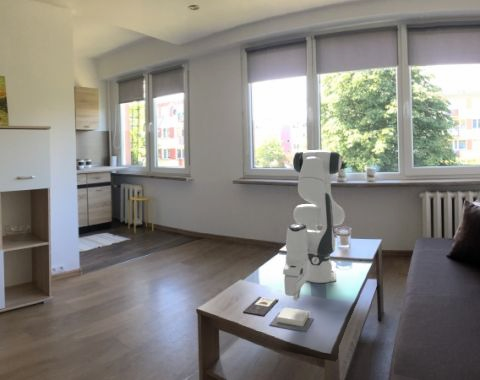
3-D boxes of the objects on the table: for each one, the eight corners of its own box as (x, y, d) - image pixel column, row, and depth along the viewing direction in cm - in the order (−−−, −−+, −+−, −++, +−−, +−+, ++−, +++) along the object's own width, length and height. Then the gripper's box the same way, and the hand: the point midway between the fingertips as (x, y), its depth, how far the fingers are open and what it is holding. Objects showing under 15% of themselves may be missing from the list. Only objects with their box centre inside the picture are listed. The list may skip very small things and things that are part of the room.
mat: (279, 313, 155) (279, 312, 155) (313, 319, 149) (313, 318, 149) (269, 325, 144) (269, 324, 144) (306, 332, 138) (306, 331, 138)
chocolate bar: (243, 311, 155) (259, 296, 172) (243, 313, 156) (259, 298, 172) (263, 315, 152) (278, 299, 168) (263, 317, 152) (278, 301, 168)
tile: (284, 307, 155) (277, 316, 146) (309, 311, 151) (302, 321, 142) (284, 312, 155) (277, 322, 146) (309, 316, 151) (302, 326, 142)
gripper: (296, 257, 161) (295, 289, 163) (281, 271, 143) (281, 307, 144) (310, 259, 159) (310, 291, 160) (298, 273, 140) (297, 310, 142)
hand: (296, 299), depth 152 cm, fingers closed
